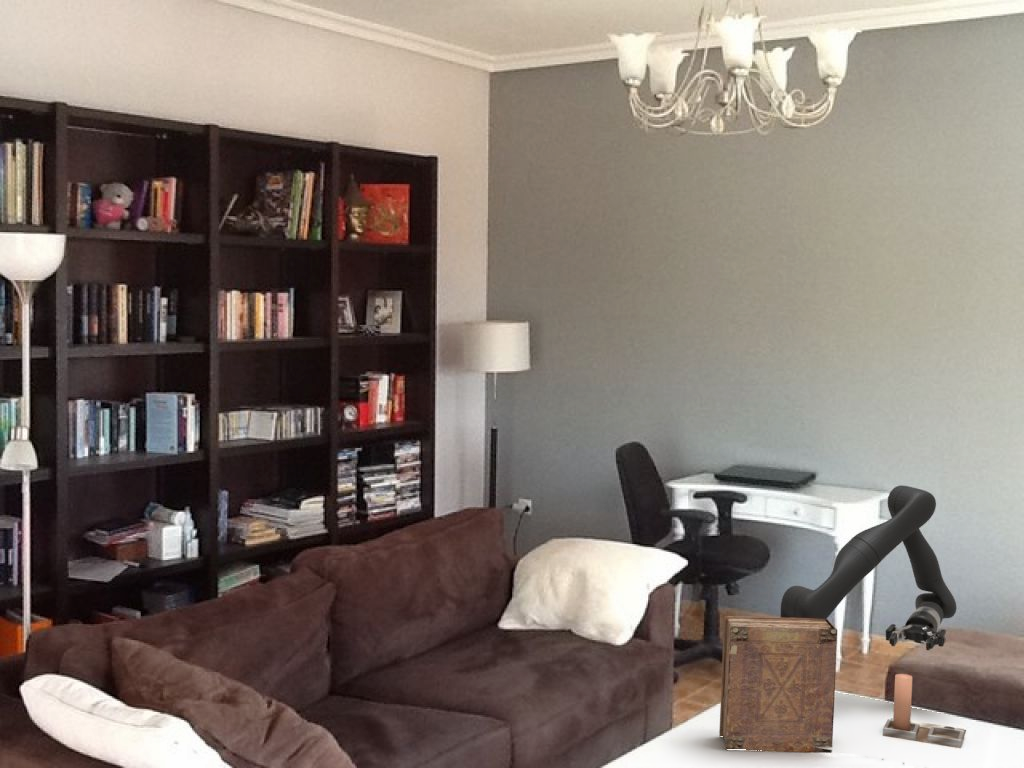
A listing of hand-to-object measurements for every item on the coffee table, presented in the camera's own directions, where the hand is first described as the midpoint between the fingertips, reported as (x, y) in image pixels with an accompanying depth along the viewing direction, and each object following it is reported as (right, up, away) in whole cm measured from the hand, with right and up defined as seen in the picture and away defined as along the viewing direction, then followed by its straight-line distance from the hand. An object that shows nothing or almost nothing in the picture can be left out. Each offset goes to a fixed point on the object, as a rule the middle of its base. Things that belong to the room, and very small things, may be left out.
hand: (910, 644), depth 318 cm
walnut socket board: (+1, -22, -7) cm, 23 cm away
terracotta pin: (-4, -20, -7) cm, 22 cm away
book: (-36, -22, -13) cm, 44 cm away
